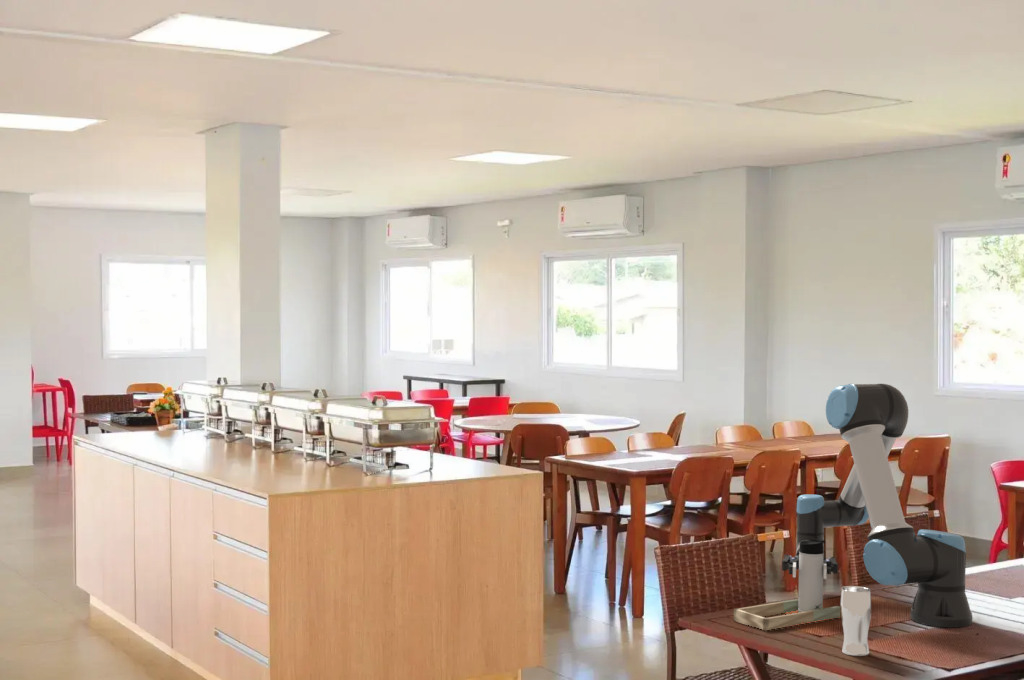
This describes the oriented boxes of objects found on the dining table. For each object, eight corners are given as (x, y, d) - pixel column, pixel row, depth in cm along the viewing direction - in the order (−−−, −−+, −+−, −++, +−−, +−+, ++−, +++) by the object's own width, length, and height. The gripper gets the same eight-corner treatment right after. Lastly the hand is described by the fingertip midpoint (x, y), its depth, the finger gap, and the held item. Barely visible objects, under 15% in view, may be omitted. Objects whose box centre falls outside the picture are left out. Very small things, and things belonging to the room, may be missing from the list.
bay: (840, 618, 305) (840, 606, 305) (765, 631, 292) (765, 619, 292) (806, 608, 315) (806, 597, 315) (733, 620, 302) (733, 609, 302)
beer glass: (835, 648, 276) (836, 585, 276) (864, 648, 276) (864, 585, 276) (846, 657, 269) (846, 592, 269) (875, 656, 270) (876, 592, 269)
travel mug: (824, 618, 304) (825, 542, 303) (798, 616, 305) (799, 541, 305) (823, 613, 310) (824, 538, 309) (798, 611, 311) (799, 536, 311)
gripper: (847, 571, 322) (849, 589, 300) (773, 567, 327) (770, 585, 305) (847, 544, 322) (849, 560, 300) (773, 541, 327) (770, 556, 305)
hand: (809, 573), depth 303 cm, fingers open, 7 cm apart
